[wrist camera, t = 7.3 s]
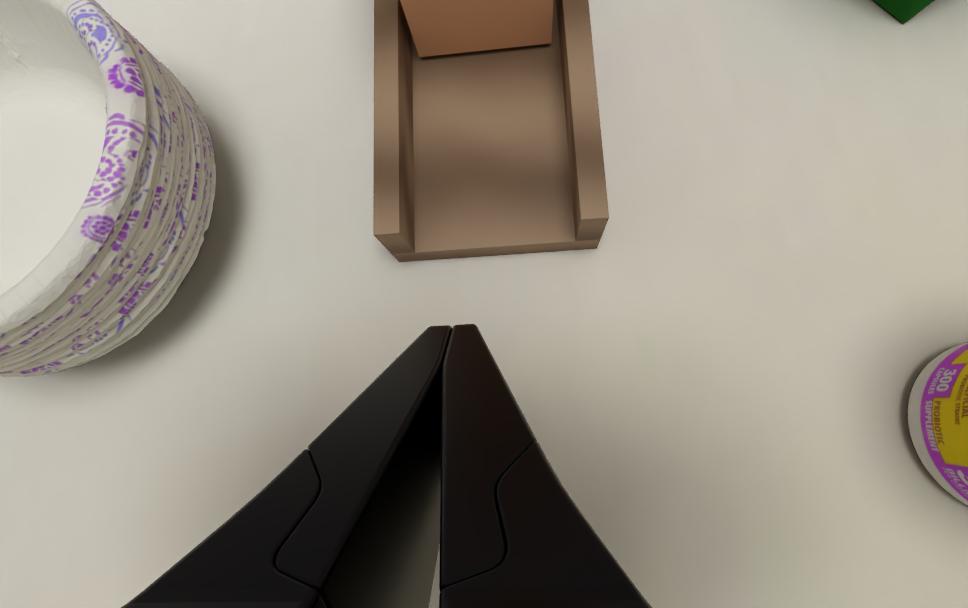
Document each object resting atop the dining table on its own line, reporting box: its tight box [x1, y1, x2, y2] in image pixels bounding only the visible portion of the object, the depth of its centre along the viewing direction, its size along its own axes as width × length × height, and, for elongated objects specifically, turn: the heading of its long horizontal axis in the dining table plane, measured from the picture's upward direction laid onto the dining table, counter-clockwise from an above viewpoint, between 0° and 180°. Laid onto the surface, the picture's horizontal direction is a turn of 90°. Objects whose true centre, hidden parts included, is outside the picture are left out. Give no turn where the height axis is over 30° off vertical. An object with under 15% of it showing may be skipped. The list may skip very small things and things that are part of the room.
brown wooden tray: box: [374, 0, 609, 262], centre depth 22 cm, size 18×9×4 cm, turn 2°
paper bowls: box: [0, 0, 216, 377], centre depth 21 cm, size 15×15×8 cm
